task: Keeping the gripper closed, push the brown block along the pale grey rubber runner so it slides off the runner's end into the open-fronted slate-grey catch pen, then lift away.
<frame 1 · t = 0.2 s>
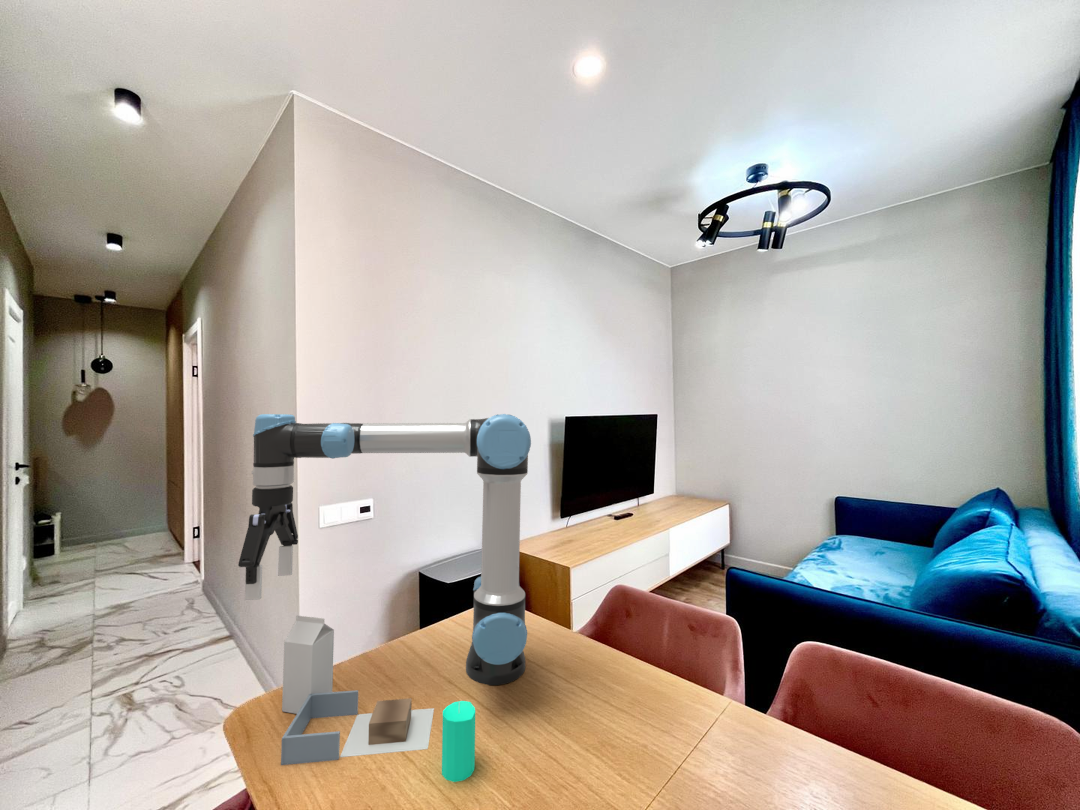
hand: (270, 586, 93), 28 cm above the table, fingers open, 13 cm apart
brown block: (390, 730, 88), resting on runner mat
candle: (458, 771, 79), on the table
milk carton: (307, 705, 97), on the table
runner mat: (390, 732, 88), on the table
catch pen: (323, 738, 87), on the table
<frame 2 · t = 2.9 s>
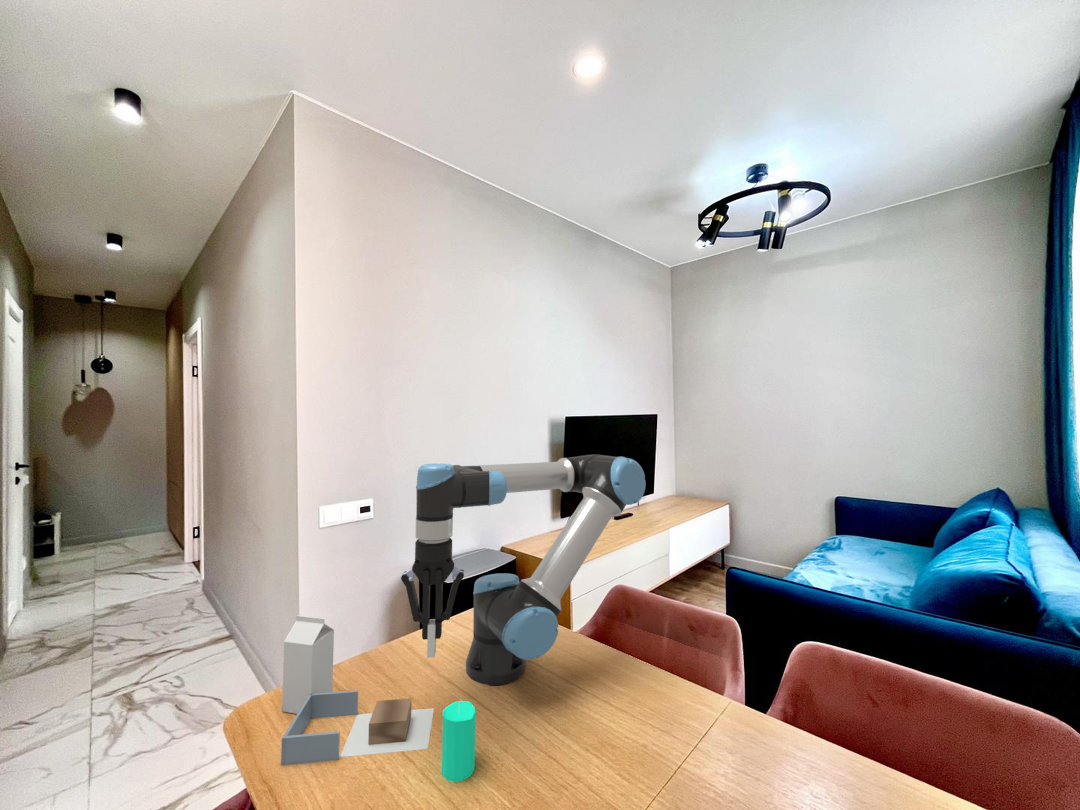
hand: (431, 654, 90), 15 cm above the table, fingers closed
nothing on the table moved.
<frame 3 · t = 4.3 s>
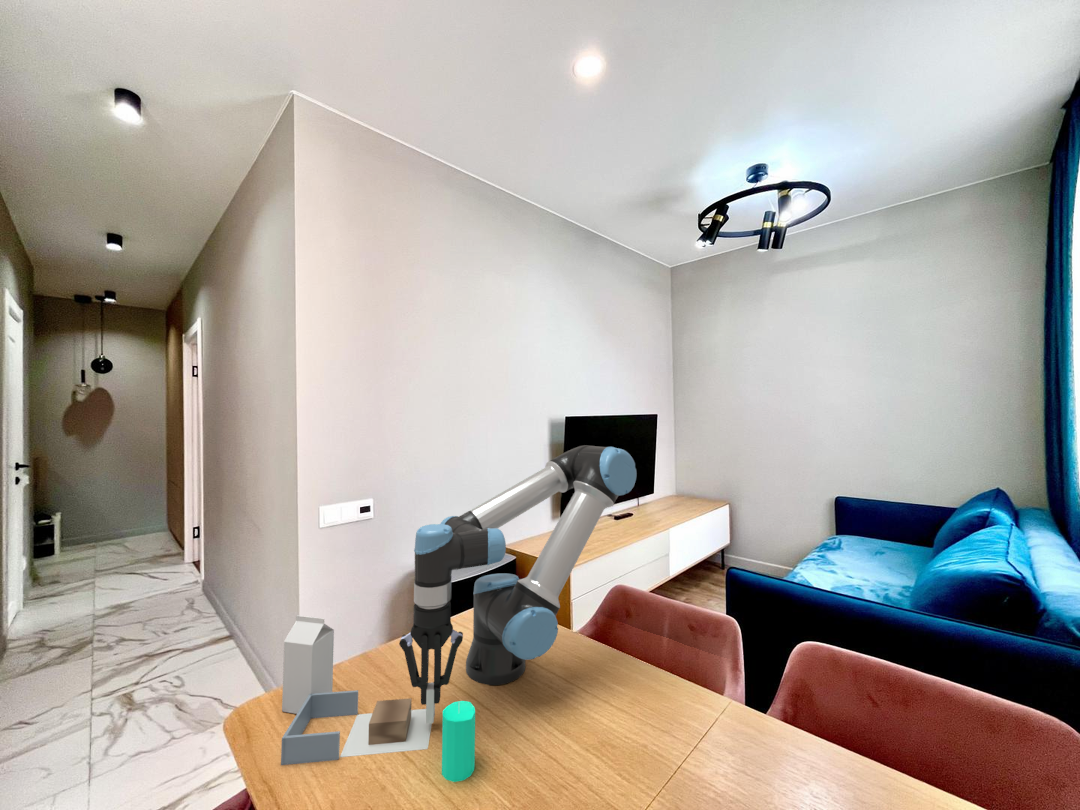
hand: (430, 718, 90), 2 cm above the table, fingers closed
nothing on the table moved.
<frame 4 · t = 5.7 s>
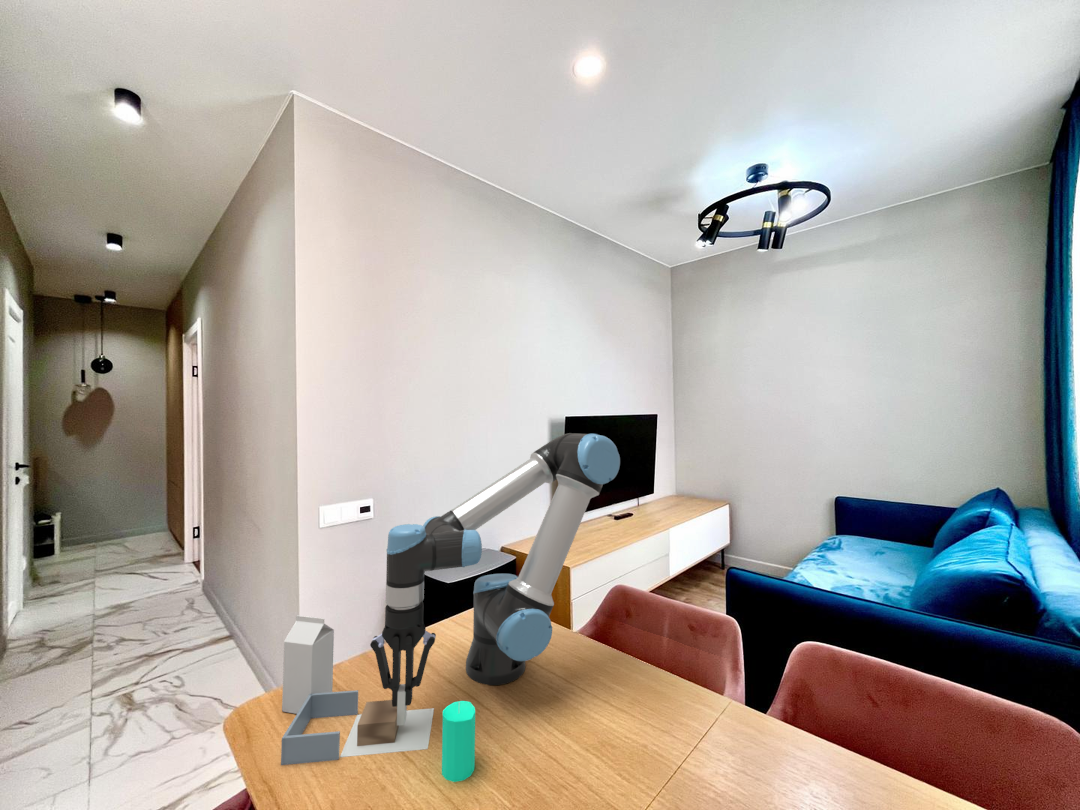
hand: (401, 720, 89), 2 cm above the table, fingers closed
brown block: (379, 731, 88), resting on runner mat
everything else where it was.
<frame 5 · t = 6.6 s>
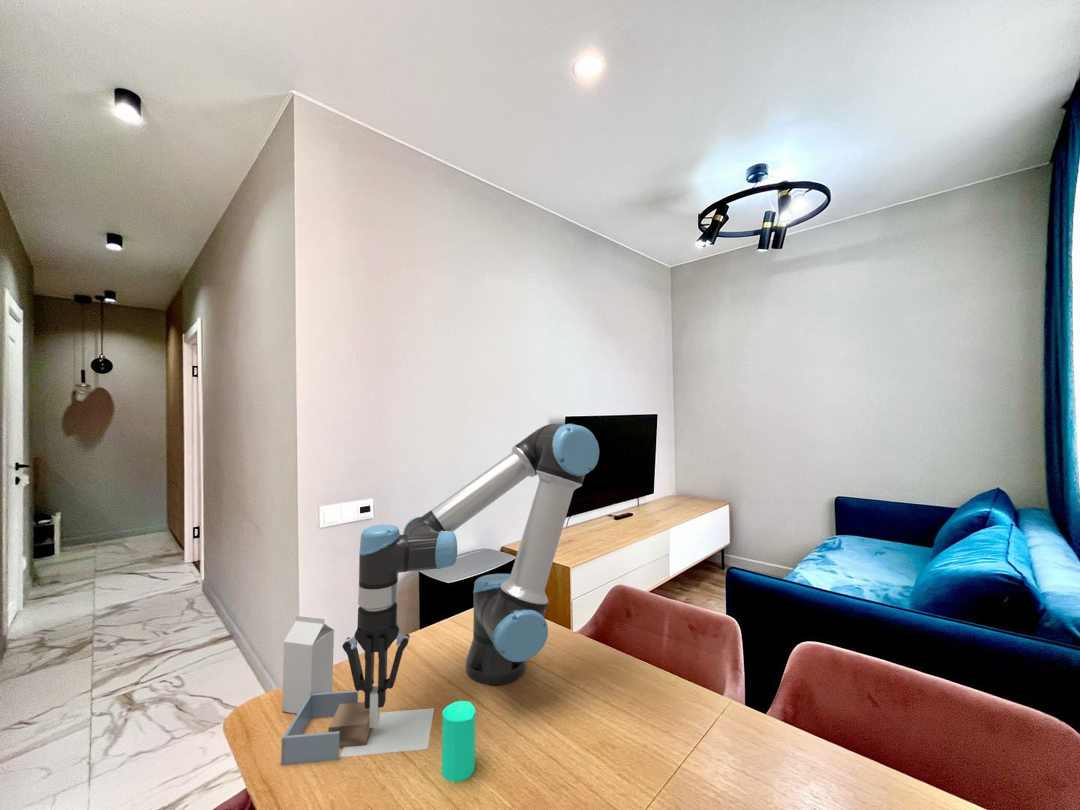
hand: (374, 722, 88), 2 cm above the table, fingers closed
brown block: (352, 734, 87), on the table, touching gripper
everything else where it was.
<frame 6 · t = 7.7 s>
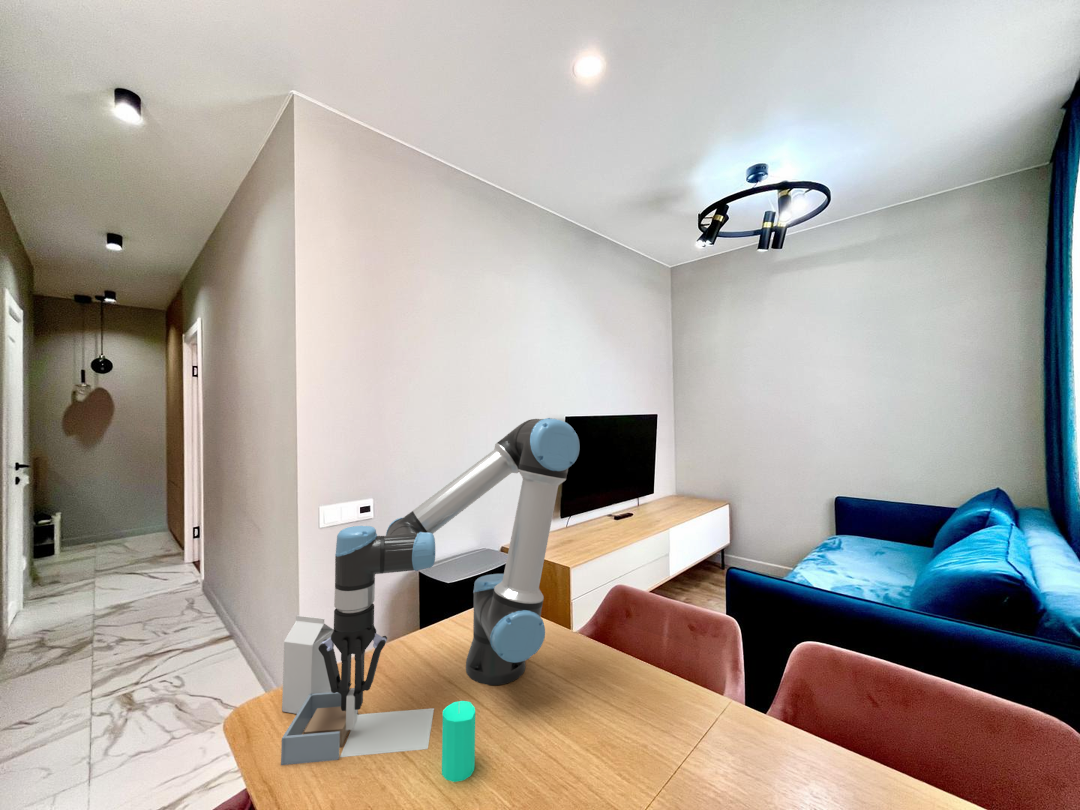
hand: (351, 725, 87), 2 cm above the table, fingers closed
brown block: (328, 738, 87), on the table, touching gripper
everything else where it was.
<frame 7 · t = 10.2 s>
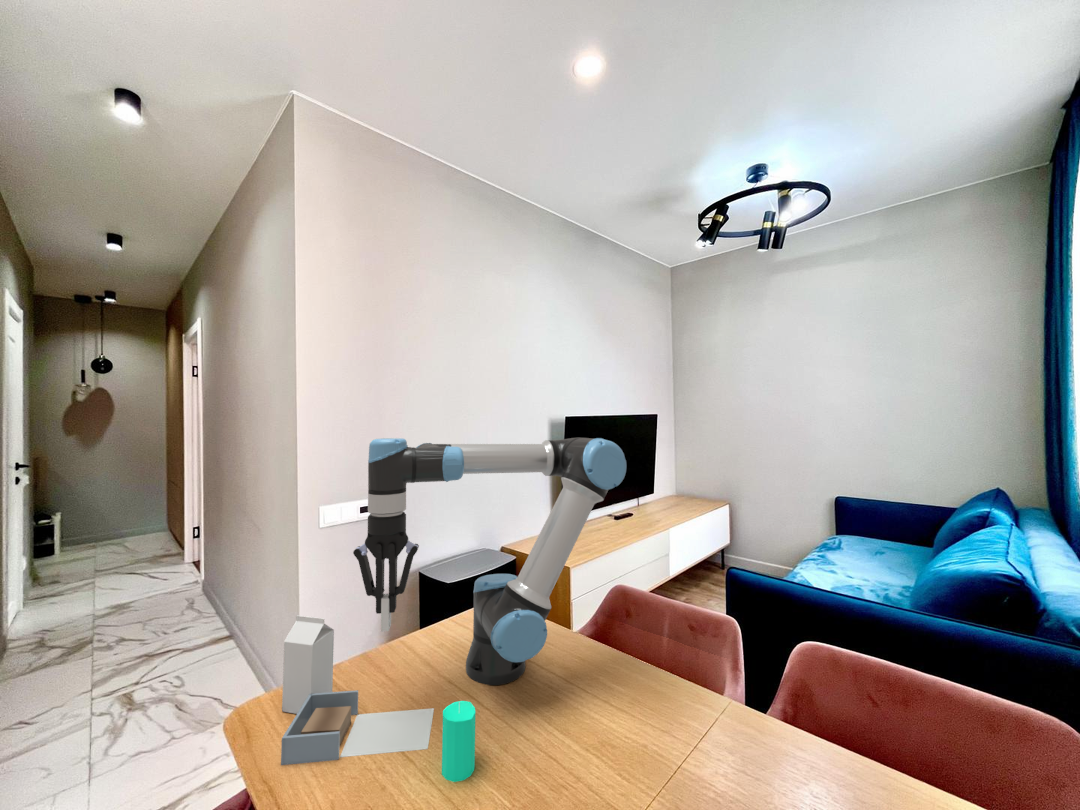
hand: (386, 628, 90), 20 cm above the table, fingers closed
brown block: (326, 739, 87), on the table
everything else where it was.
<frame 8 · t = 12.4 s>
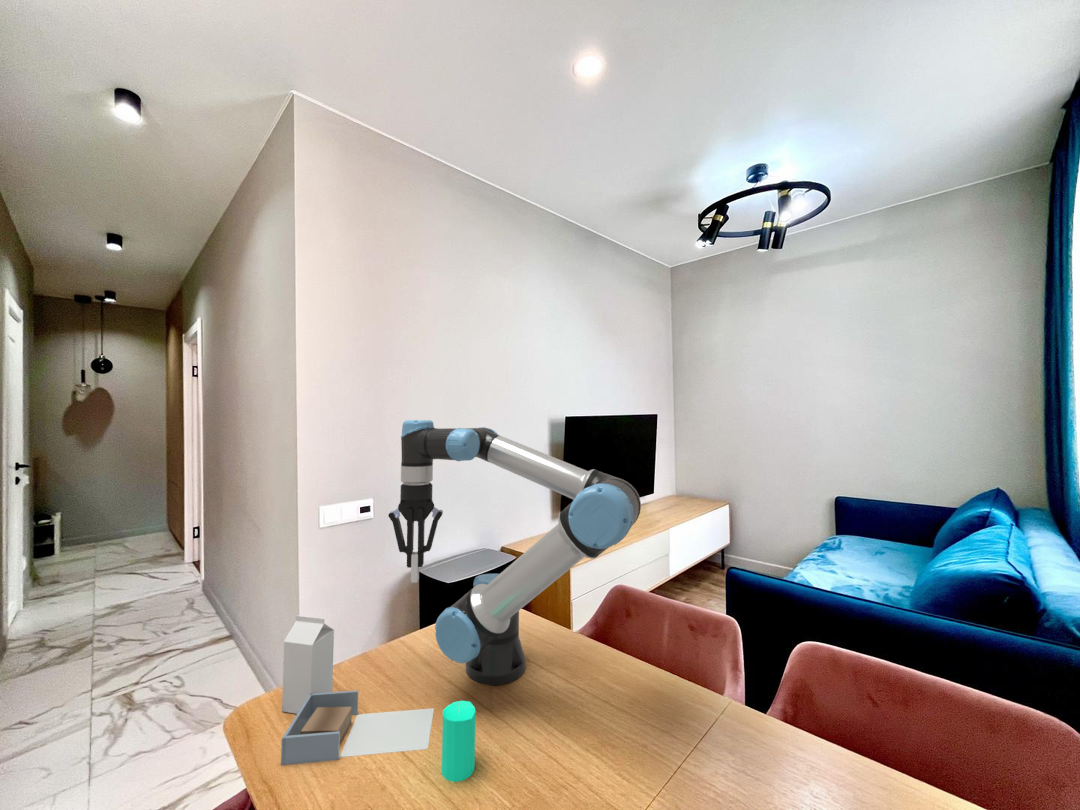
hand: (414, 580, 106), 24 cm above the table, fingers closed
nothing on the table moved.
at the end: brown block inside the target area (1.2 cm from its centre), on the table; brown block moved 12.3 cm from its start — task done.
